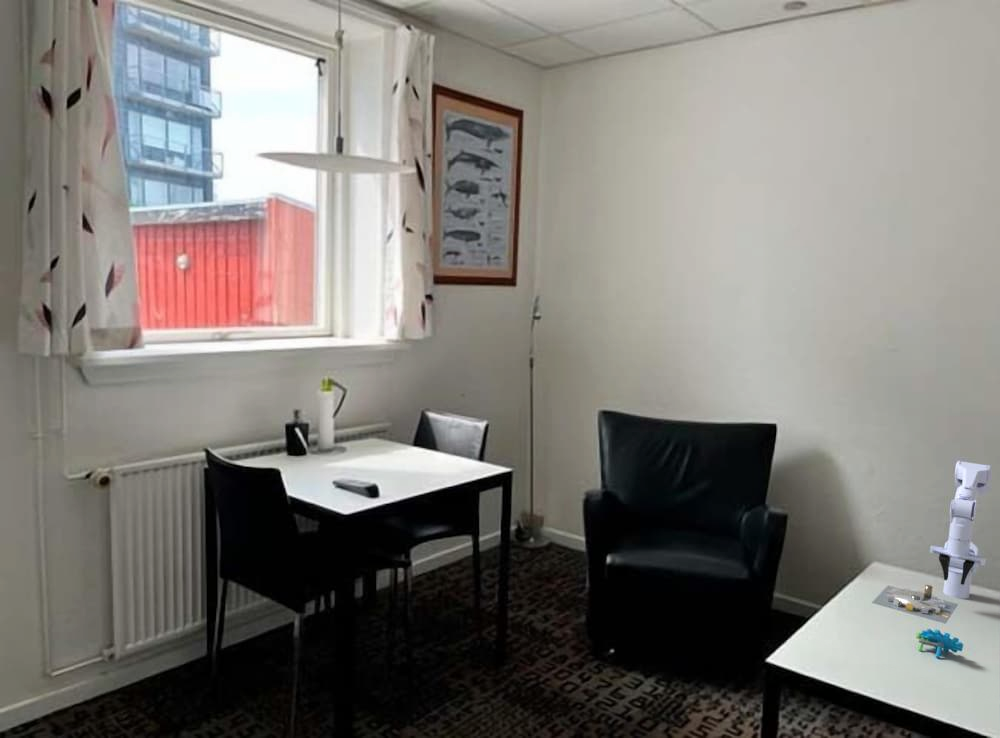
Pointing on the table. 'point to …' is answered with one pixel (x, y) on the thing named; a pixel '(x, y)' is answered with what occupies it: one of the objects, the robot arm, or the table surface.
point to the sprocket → (916, 600)
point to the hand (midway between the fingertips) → (954, 581)
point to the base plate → (939, 617)
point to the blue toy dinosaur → (938, 641)
